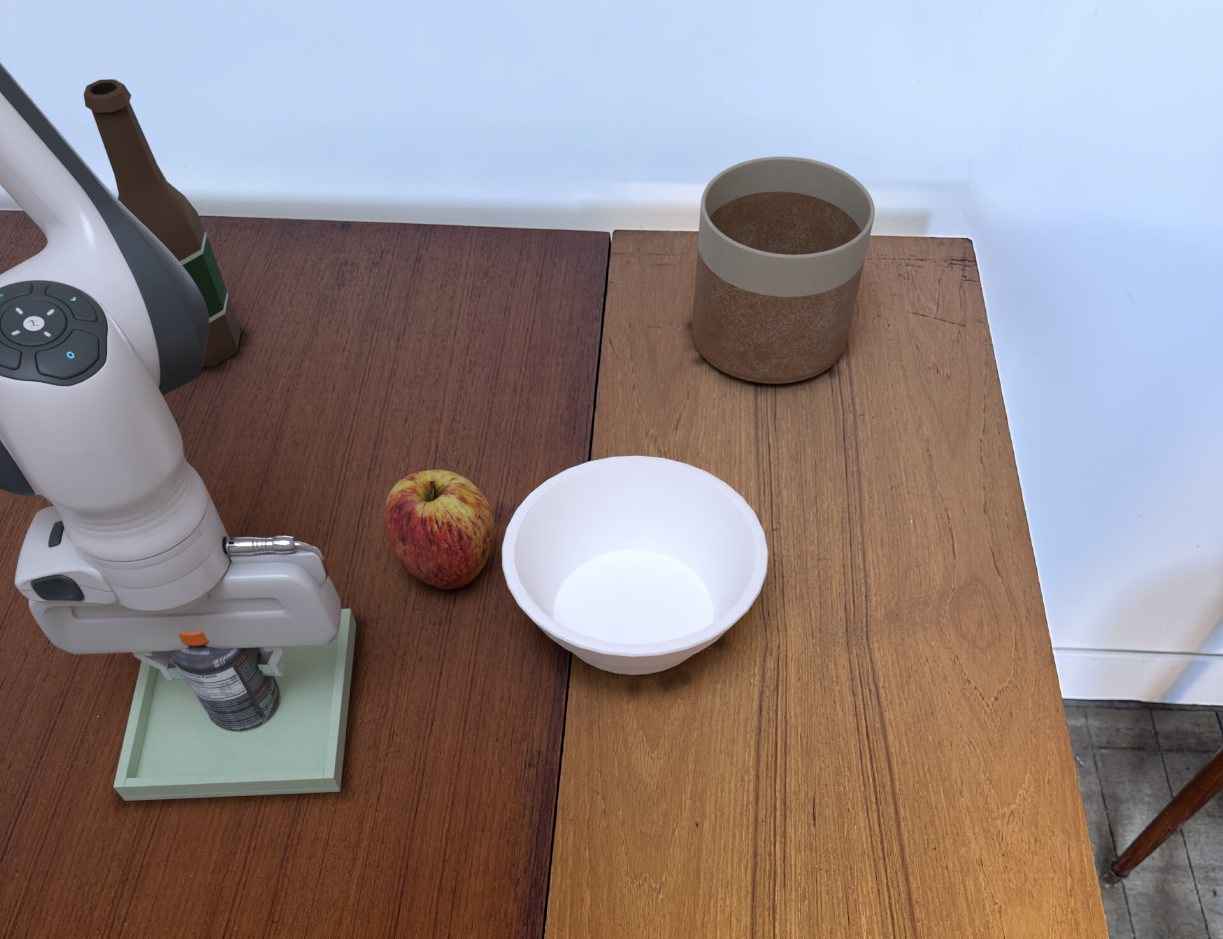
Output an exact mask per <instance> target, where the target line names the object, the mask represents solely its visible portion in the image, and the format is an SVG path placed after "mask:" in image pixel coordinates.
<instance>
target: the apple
mask: <svg viewBox="0 0 1223 939" xmlns="http://www.w3.org/2000/svg"><path fill="white" fill-rule="evenodd" d="M383 512H384V513H383V526H384V532H385V533H384V534H385V538H386V542H387V544H388V547H389V549H390V551H391V552H392V554H393V556H394V558H395V559H396V560H397V562H398V563H399V564H400V565H401V567H403V568H404V570H405V571H407V572H408V573H409V574H410V575H412V576H413V577H414V578H415V579H417V580H419V581H421V582H422V583H424V584H427V585H429V586H432V587H434V588H437V589H438V588H439V589H440V590H446V591H447V590H448V591H449V590H455V589H460V588H463V587H464V586H467V585H468V584H470V583H471V582H473V581H474V579H475V578H476V577H477V576H478V575H479V574H480V572H482V570H483V568H484V567H485V566H486V563H487V561H488V559H489V557H490V554H491V551H492V549H493V545H494V540H495V530H496V529H495V519H494V515H493V512H492V508H491V505H490V504H489V500H487V498H486V497H485V495H484V494H483V493H482V491H481V490H480V489H479V488H478V487H477V486H476V485H475V484H474V483H473V482H471V481H470V480H469V479H468V478H466V477H465V476H463V475H461V474H458V473H456V472H453V471H450V470H445V469H429V470H428V469H427V470H422V471H418V472H413V473H411V474H408V475H406V476H404V477H403V478H401V479H400V480H399V481H398V482H397V483H396V484H394V486H393V487H392V489H391V490H390V492H389V493H388V495H387V498H386V501H385V504H384V511H383Z"/></svg>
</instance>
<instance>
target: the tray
mask: <svg viewBox="0 0 1223 939" xmlns="http://www.w3.org/2000/svg"><path fill="white" fill-rule="evenodd" d="M356 629H357V623H356V619H355V617H354V614H353V610H352V609H351V608H341V621H340V628H339V633H338V635H337V636H336V637H335V639H334V640H333V641H332V642H331V643H330V644H327V645H306V646H284V652H283V656H284V661H285V665H284V672H283V676H274V678H275V680H276V681H277V684H278V686H279V690H280V696H281V697H280V702H279V705H278V708H277V709H276V711H275V713H274V714H273V715H272V716H271V717H270V718H269V719H268V720H267V721H266V722H265V723H263V724H261V725H260V726H258V727H255V728H253V729H250V730H245V731H230V730H226V729H223V728H221V727H219V726H217V725H216V724H215V723H213V722H212V721H211V719H210V718H209V717H208V715H207V713H206V712H205V710H204V709H203V707H202V705H201V704H200V702H199V701H198V699H197V698H196V696H195V695H194V693H193V692H192V690H191V688H190V687H189V685H188V684H187V682H186V680H170V681H168V680H166V678H165V677H164V675H163V674H162V672H161V671H160V669H157V668H155V667H153V666H151V665H149V664H147V663H145V662H143V661H142V660H140V665H139V670H138V675H137V679H136V684H135V688H134V692H133V697H132V701H131V707H130V711H129V714H128V719H127V724H126V728H125V733H124V737H123V742H122V746H121V750H120V755H119V760H118V765H117V769H116V774H115V778H114V781H113V782H114V783H113V789H114V790H115V791H116V792H117V793H118V795H119V796H120V797H121V798H122V799H123V801H124V802H129V801H153V800H173V799H174V800H175V799H176V800H177V799H178V800H179V799H199V798H200V799H201V798H222V797H223V798H224V797H226V798H227V797H246V796H269V795H270V796H273V795H291V794H292V795H293V794H294V795H295V794H296V795H297V794H316V793H317V794H319V793H320V794H321V793H340V792H341V786H342V776H343V766H344V756H345V745H346V737H347V725H348V716H349V715H348V714H349V707H350V706H349V705H350V694H351V683H352V674H353V663H354V654H355V653H354V652H355V642H356V633H357V630H356ZM259 648H260V647H259Z"/></svg>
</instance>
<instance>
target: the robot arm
mask: <svg viewBox="0 0 1223 939" xmlns="http://www.w3.org/2000/svg"><path fill="white" fill-rule="evenodd" d="M0 186H1V188H2V189H3V190H4V191H5V192H6V193H7V194H8V195H9V196H10V197H11V199H12V200H13V201H14V202H15V203H16V204H17V205H18V206H19V207H20V208H21V209H22V211H24V213H25V214H26V215H27V216H28V217H29V218H30V219H31V220H32V221H33V223H34V224H35V225H36V226H38V229H40V231H42V233H43V234H44V236H45V239H46V242H47V243H46V246H45V247H44V248H43V249H42V250H41V251H39V252H37V254H35V255H33V256H31V257H30V258H28V259H26V260H24V261H22V262H21V263H19V264H17V265H15V266H13V267H11V268H10V269H8V270H6V271H4V272H2V273H1V274H0V490H2V491H5V492H8V493H11V494H15V495H19V496H24V497H28V498H29V497H30V498H35V497H36V496H39V495H40V496H42V497H43V498H45V499H46V500H47V501H48V502H49V503H51V504H52V505H50V506H47V507H44V508H42V509H39V510H38V511H37V512H36V513H35V514H34V516H33V518H32V520H31V522H30V525H29V527H28V529H27V532H26V535H25V538H24V539H23V543H22V546H21V548H20V552H19V555H18V559H17V563H16V569H15V574H14V586H15V587H16V589H17V590H18V591H19V592H20V594H21V595H22V596H24V598H26V599H28V608H29V611H30V613H31V615H32V617H33V618H34V620H35V622H36V623H37V625H38V627H39V628H40V630H41V631H42V632H43V634H44V635H45V636H46V638H47V639H48V640H49V642H50V643H51V644H52V645H53V646H55V647H56V648H58V649H60V650H61V651H63V652H66V653H69V654H71V655H76V656H79V655H98V654H99V655H100V654H122V653H124V654H125V653H127V654H128V653H132V655H133V657H134V658H136V659H138V660H139V661H143V662H145V663H147V664H149V665H151V666H153V667H155V668H157V669H160V671H161V672H162V674H163V675H164V677H165V678H166V680H168V681H170V680H185V679H184V677H183V676H182V674H181V673H180V671H179V669H178V668H177V666H176V665H175V663H174V661H173V660H172V658H171V657H170V654H169V652H168V651H177V650H182V649H185V648H187V647H189V646H188V645H185V644H183V643H182V642H181V638H180V637H179V635H178V633H179V632H194V631H201V632H204V634H205V636H206V638H207V639H208V640H209V643H208V644H207V645H206V646H208V647H214V648H222V649H230V648H256V647H260V648H259V655H260V656H259V658H258V661H257V666H258V668H259V670H260V671H262V673H261V674H262V676H263V677H265V676H283V672H284V665H285V661H284V656H283V652H284V646H306V645H327V644H330V643H331V642H332V641H333V640H334V639H335V637H336V636H337V635H338V633H339V628H340V621H341V609H342V602H341V599H340V596H339V594H338V592H337V589H336V588H335V586H334V583H333V581H332V579H331V578H330V576H329V570H328V567H327V565H326V562H325V558H324V556H323V554H322V552H321V550H320V549H319V548H318V547H316V546H314V545H311V544H308V543H306V542H303V541H297V540H296V538H295V537H294V536H290V535H275V536H272V537H257V536H256V537H254V536H238V537H237V536H233V537H230V536H229V534H228V532H227V530H226V528H225V525H224V523H223V521H222V519H221V517H220V514H219V512H218V510H217V508H216V506H215V504H214V501H213V500H212V497H211V495H210V492H209V491H208V489H207V487H206V485H205V482H204V481H203V479H202V477H201V475H200V474H199V473H198V471H197V470H196V469H195V468H194V467H193V466H192V465H191V464H190V463H189V462H188V461H187V459H186V457H185V453H184V442H183V438H182V433H181V431H180V428H179V426H178V424H177V422H176V419H175V417H174V415H173V414H172V411H171V409H170V407H169V406H168V403H167V401H166V399H165V398H164V396H165V395H167V394H169V393H172V392H173V391H175V390H177V389H180V388H181V387H183V386H184V385H187V384H189V383H191V382H193V381H194V380H197V379H198V378H199V377H200V376H201V373H202V369H203V368H204V367H203V363H204V360H205V355H206V351H207V344H208V336H209V313H208V309H207V306H206V303H205V301H204V298H203V296H202V294H201V292H200V291H199V289H198V287H197V285H196V284H195V282H194V281H193V279H192V278H191V276H190V275H189V274H188V272H187V271H186V270H185V268H184V267H183V266H182V265H181V263H180V262H179V261H178V260H177V259H176V257H175V256H174V255H173V254H172V253H171V252H170V251H169V250H168V249H167V247H166V246H165V245H164V244H163V243H162V242H161V241H160V240H159V239H158V238H157V237H156V236H155V235H154V234H153V233H152V232H151V231H150V230H149V229H148V228H147V227H146V226H145V225H143V224H142V223H141V222H140V221H139V220H138V219H137V218H136V217H135V216H134V215H133V214H132V213H131V212H130V211H129V210H128V209H127V208H126V207H125V206H124V205H123V204H122V203H121V202H120V201H119V200H118V197H116V195H115V194H114V193H113V192H112V191H111V190H110V189H109V188H108V187H107V185H106V184H105V183H104V182H103V181H102V180H101V179H100V177H99V176H98V175H97V174H96V173H95V171H94V170H93V169H92V168H91V167H90V166H89V165H88V163H87V162H86V161H85V160H84V159H83V157H82V156H81V155H80V154H79V153H78V152H77V150H76V149H75V148H74V147H73V145H71V143H70V142H69V141H68V140H67V139H66V138H65V137H64V135H63V134H62V133H61V132H60V130H59V129H58V128H57V127H56V126H55V125H54V124H53V123H52V121H51V120H50V119H49V117H48V116H47V115H46V114H45V113H44V112H43V110H41V108H40V107H39V106H38V105H37V104H36V102H35V101H34V99H32V98H31V97H30V95H29V94H28V93H27V92H26V91H25V89H24V88H23V87H22V86H21V85H20V83H19V81H17V80H16V79H15V78H14V77H13V75H12V74H11V73H10V71H9V70H8V69H7V68H6V67H5V66H4V65H3V63H2V62H1V61H0Z"/></svg>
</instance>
